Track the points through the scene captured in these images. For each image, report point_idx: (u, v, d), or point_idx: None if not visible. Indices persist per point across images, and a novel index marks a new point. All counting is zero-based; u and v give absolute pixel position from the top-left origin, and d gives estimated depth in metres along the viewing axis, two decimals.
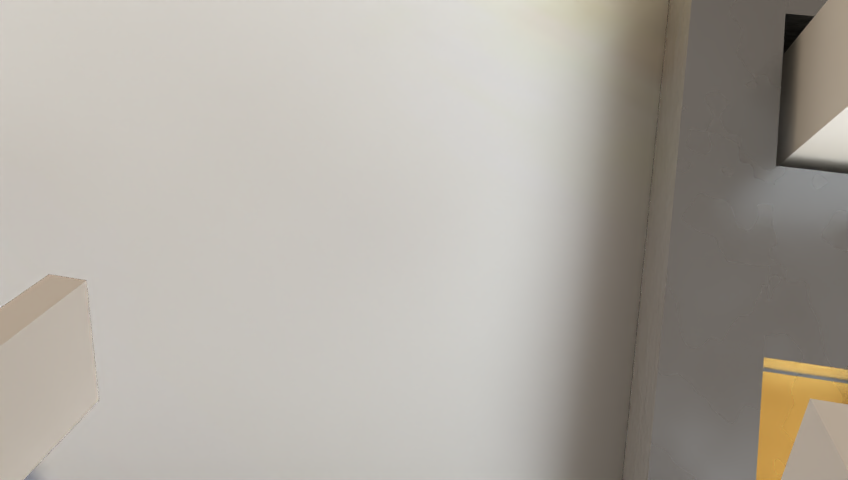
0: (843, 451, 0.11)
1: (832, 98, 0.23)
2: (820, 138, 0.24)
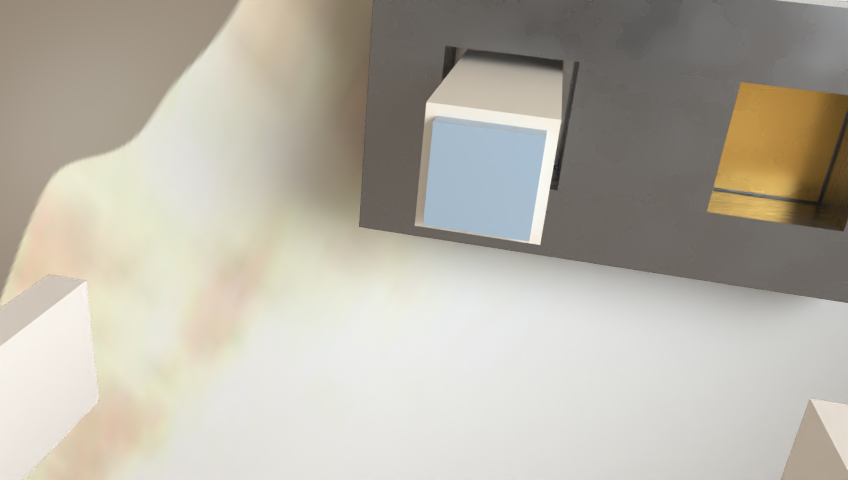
0: (843, 450, 0.11)
1: None
2: None
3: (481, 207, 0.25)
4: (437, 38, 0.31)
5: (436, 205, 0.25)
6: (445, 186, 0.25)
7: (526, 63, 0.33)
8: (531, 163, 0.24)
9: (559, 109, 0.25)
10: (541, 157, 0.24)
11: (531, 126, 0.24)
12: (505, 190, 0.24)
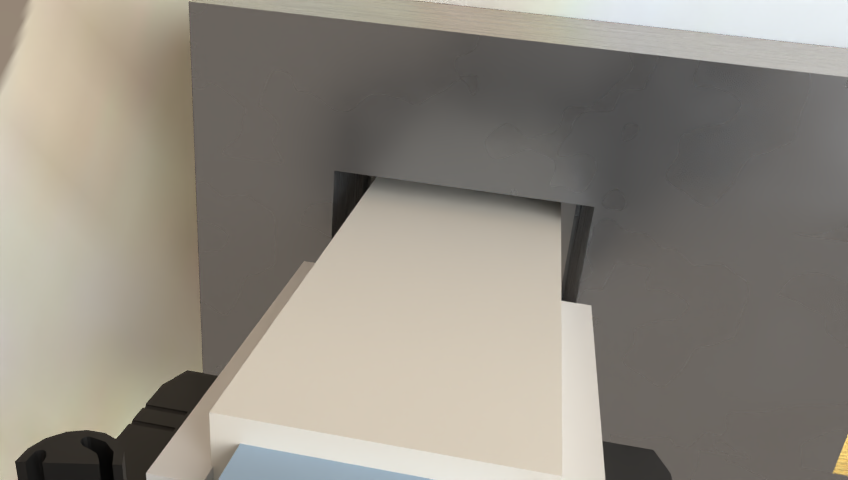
0: None
1: None
2: None
3: None
4: (318, 157, 0.16)
5: None
6: None
7: (493, 193, 0.18)
8: None
9: (556, 403, 0.10)
10: None
11: None
12: None
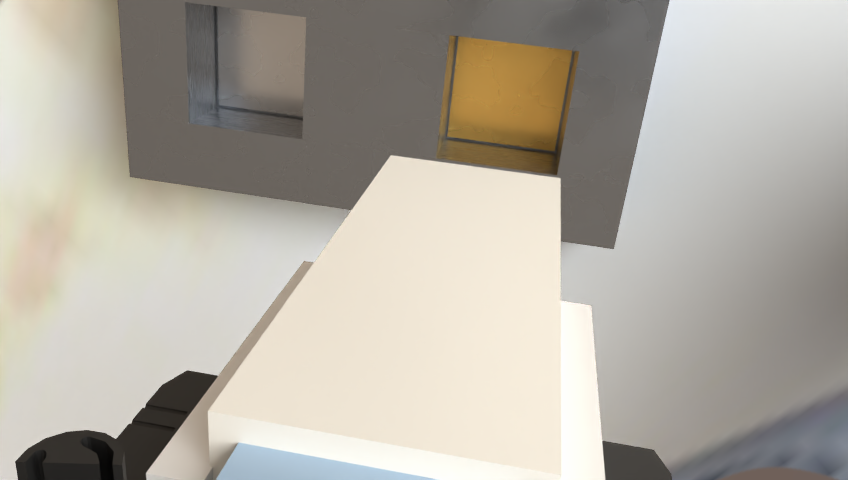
0: None
1: None
2: None
3: None
4: None
5: None
6: None
7: (492, 192, 0.18)
8: None
9: (555, 402, 0.10)
10: None
11: None
12: None
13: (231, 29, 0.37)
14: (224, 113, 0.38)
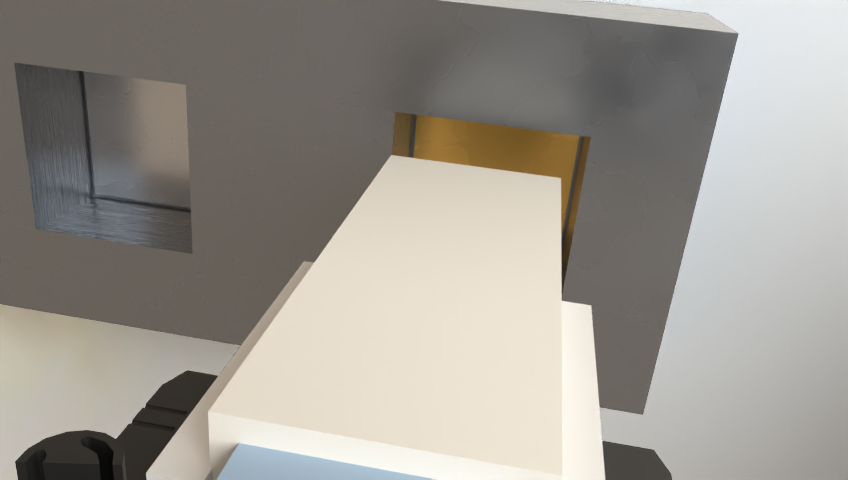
0: None
1: None
2: None
3: None
4: (2, 52, 0.23)
5: None
6: None
7: (493, 192, 0.18)
8: None
9: (556, 403, 0.10)
10: None
11: None
12: None
13: (104, 93, 0.27)
14: (97, 209, 0.27)
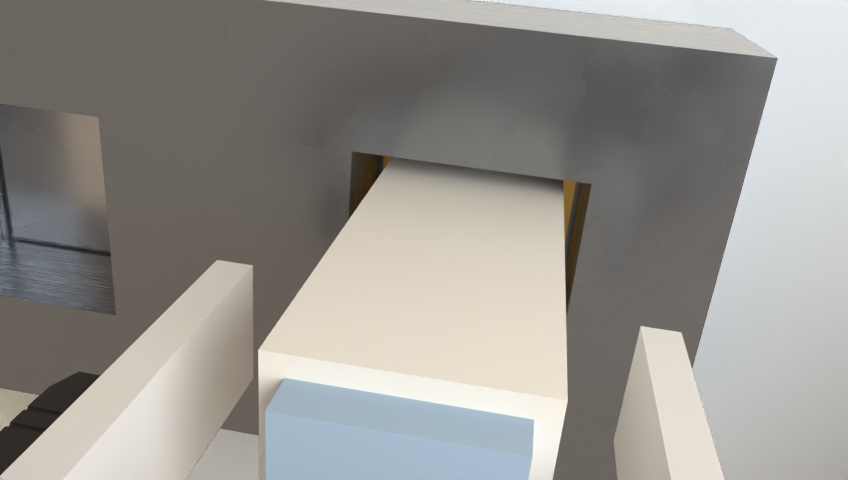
0: (653, 364, 0.13)
1: None
2: None
3: None
4: None
5: None
6: None
7: (500, 172, 0.19)
8: None
9: (561, 345, 0.12)
10: None
11: (497, 410, 0.10)
12: None
13: (17, 121, 0.23)
14: (12, 255, 0.23)
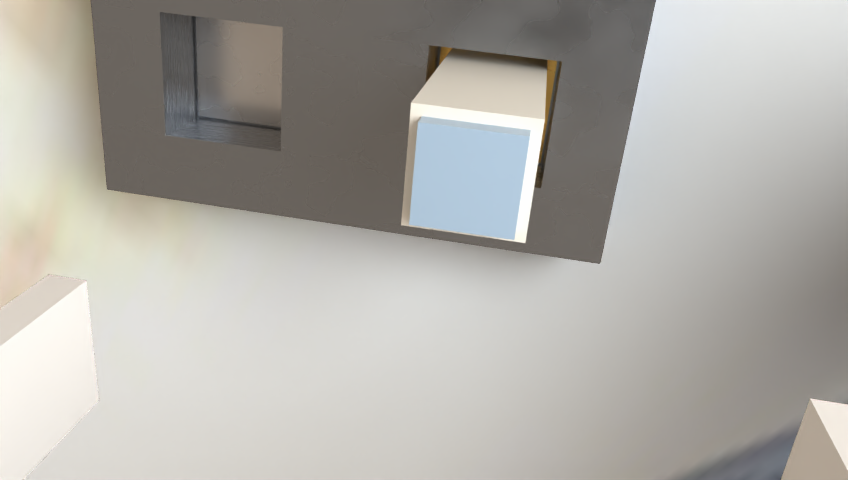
0: (843, 450, 0.11)
1: None
2: None
3: (466, 206, 0.25)
4: (151, 5, 0.33)
5: (422, 205, 0.25)
6: (430, 186, 0.25)
7: (511, 61, 0.33)
8: (515, 162, 0.24)
9: (543, 108, 0.26)
10: (525, 156, 0.24)
11: (514, 126, 0.24)
12: (490, 189, 0.25)
13: (210, 39, 0.37)
14: (203, 124, 0.37)
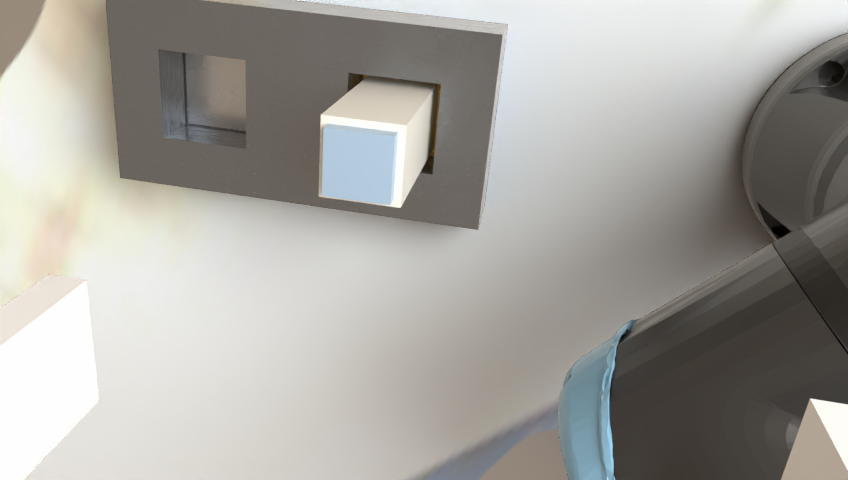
0: (843, 450, 0.11)
1: None
2: (421, 165, 0.45)
3: (358, 183, 0.38)
4: (152, 44, 0.46)
5: (329, 182, 0.38)
6: (334, 169, 0.38)
7: (409, 83, 0.46)
8: (387, 153, 0.37)
9: (410, 118, 0.38)
10: (393, 149, 0.37)
11: (387, 130, 0.37)
12: (372, 171, 0.38)
13: (196, 66, 0.50)
14: (191, 130, 0.50)
